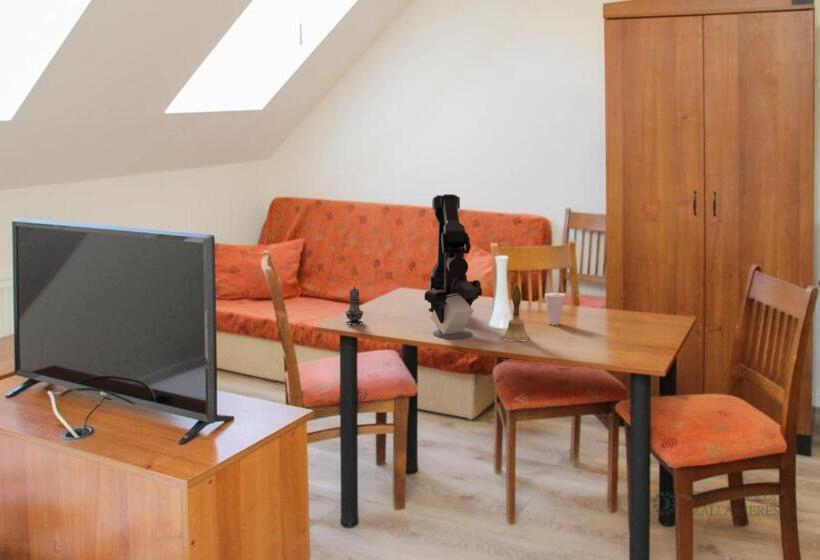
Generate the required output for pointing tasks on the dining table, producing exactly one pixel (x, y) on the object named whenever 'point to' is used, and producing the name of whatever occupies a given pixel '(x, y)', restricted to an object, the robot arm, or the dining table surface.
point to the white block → (453, 315)
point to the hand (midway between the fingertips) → (453, 320)
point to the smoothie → (554, 306)
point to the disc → (453, 334)
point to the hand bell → (516, 320)
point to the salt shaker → (354, 308)
